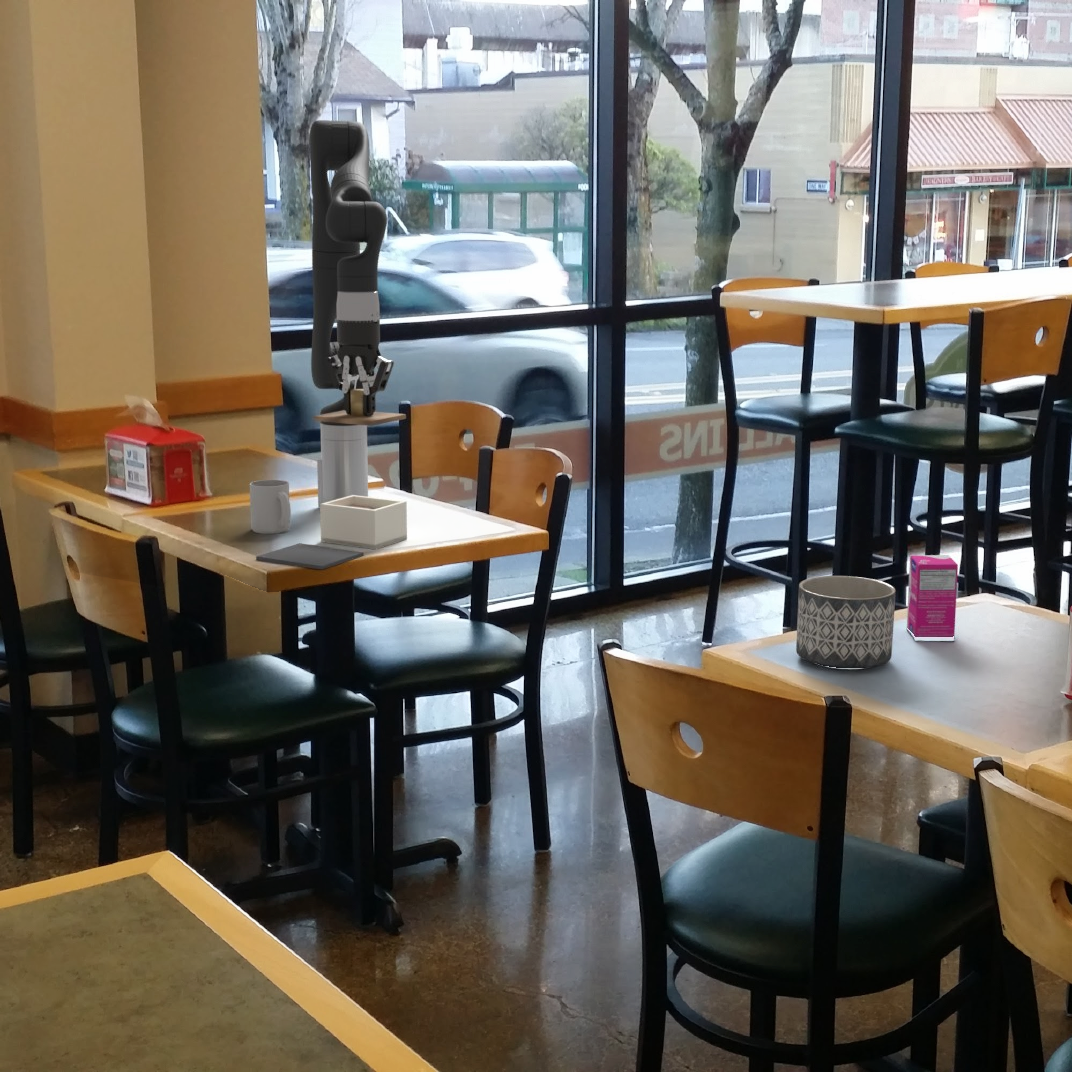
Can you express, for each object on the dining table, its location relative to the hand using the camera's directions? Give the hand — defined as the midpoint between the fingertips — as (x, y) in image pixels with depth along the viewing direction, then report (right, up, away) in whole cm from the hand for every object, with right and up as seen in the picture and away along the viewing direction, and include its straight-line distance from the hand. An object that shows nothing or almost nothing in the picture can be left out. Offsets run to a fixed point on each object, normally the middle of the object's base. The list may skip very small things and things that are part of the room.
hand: (360, 414), depth 269 cm
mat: (-8, -26, -8) cm, 28 cm away
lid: (0, -1, 0) cm, 1 cm away
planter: (+73, -39, -65) cm, 105 cm away
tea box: (0, -23, +6) cm, 23 cm away
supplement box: (+88, -36, -53) cm, 109 cm away
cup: (-17, -21, +13) cm, 30 cm away
